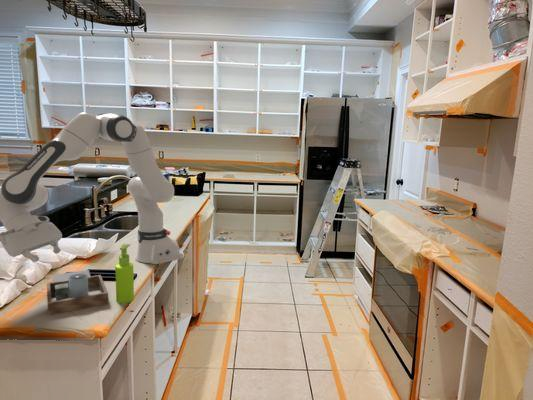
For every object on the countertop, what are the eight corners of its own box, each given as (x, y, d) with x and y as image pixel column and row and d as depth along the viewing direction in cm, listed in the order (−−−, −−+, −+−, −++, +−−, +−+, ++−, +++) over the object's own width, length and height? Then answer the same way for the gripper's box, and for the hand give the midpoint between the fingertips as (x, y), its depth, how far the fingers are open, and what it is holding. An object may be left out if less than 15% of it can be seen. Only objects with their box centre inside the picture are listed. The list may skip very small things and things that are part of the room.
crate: (101, 284, 141) (100, 274, 140) (108, 303, 126) (107, 292, 125) (47, 293, 131) (46, 282, 130) (48, 315, 116) (47, 303, 115)
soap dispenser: (137, 295, 133) (136, 243, 130) (130, 303, 126) (129, 249, 123) (121, 294, 133) (119, 242, 129) (113, 303, 126) (112, 248, 123)
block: (68, 293, 132) (67, 283, 131) (68, 297, 129) (68, 287, 128) (55, 295, 130) (55, 285, 129) (56, 299, 127) (55, 289, 126)
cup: (87, 295, 131) (86, 272, 129) (89, 302, 126) (88, 277, 124) (69, 298, 128) (67, 274, 126) (70, 305, 123) (68, 280, 121)
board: (88, 273, 151) (88, 269, 150) (91, 281, 143) (91, 277, 143) (52, 278, 144) (52, 275, 144) (53, 287, 136) (53, 283, 136)
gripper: (0, 228, 117) (27, 260, 116) (50, 215, 136) (74, 243, 136) (-10, 240, 118) (16, 272, 118) (41, 225, 138) (64, 253, 138)
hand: (47, 256), depth 127 cm, fingers open, 8 cm apart
